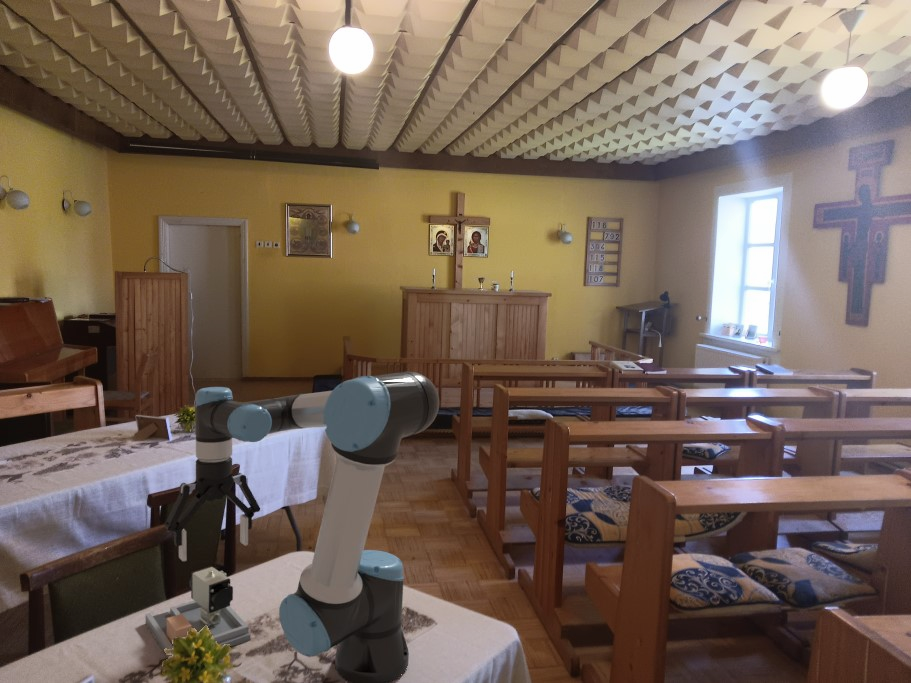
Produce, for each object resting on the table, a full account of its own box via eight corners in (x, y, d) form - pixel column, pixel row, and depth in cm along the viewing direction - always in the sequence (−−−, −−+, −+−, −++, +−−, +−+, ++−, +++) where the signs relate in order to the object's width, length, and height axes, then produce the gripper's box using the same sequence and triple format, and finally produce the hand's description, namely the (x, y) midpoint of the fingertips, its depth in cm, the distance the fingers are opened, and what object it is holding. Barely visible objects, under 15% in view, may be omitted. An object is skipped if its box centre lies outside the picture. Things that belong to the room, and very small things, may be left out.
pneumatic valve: (213, 636, 135) (213, 583, 134) (188, 615, 143) (188, 565, 142) (236, 627, 140) (237, 575, 138) (211, 607, 147) (211, 558, 146)
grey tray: (250, 639, 137) (250, 624, 137) (173, 666, 126) (173, 649, 126) (216, 602, 152) (216, 587, 152) (145, 623, 141) (145, 608, 141)
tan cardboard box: (191, 646, 132) (191, 625, 131) (175, 651, 129) (175, 630, 129) (182, 633, 136) (182, 613, 136) (166, 638, 134) (166, 618, 134)
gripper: (261, 446, 149) (260, 532, 151) (148, 462, 132) (149, 559, 134) (275, 452, 143) (274, 542, 145) (158, 471, 127) (159, 572, 129)
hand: (214, 551), depth 140 cm, fingers open, 13 cm apart
